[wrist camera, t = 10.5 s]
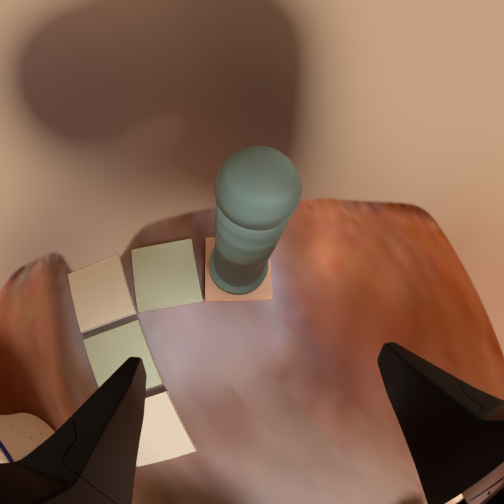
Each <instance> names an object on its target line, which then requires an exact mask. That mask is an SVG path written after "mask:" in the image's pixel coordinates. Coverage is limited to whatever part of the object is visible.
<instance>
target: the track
mask: <svg viewBox="0 0 504 504" xmlns="http://www.w3.org/2000/svg"><path fill="white" fill-rule="evenodd" d="M214 247H215V237H206V256H205V301H251V300H272V299H273V294H272V280H271V267H270V258H269V260H268V264H269V266H268V272H267V275H266V277H265V279H264V281H263V282H262V284H261V285H260V286H259V287H258V288H257V289H256V290H254V291H253V292H251V293H248V294H244V295H233V294H229V293H227V292H225V291H223V290H221V289H220V288H219V287H218V286H217V285H216V284H215V283H214V281H213V280H212V278H211V275H210V270H209V259H210V255H211V252H212V250H213V249H214ZM131 253H132V265H133V276H134V286H135V295H136V303H137V310H138V312H145V311H151V310H157V309H163V308H169V307H174V306H180V305H185V304H191V303H196V302H202V301H203V299H202V294H201V289H200V284H199V279H198V273H197V268H196V262H195V257H194V251H193V245H192V240H191V239H186V240H181V241H175V242H170V243H164V244H159V245H154V246H148V247H143V248H138V249H132V250H131ZM68 278H69V283H70V289H71V293H72V298H73V303H74V307H75V311H76V316H77V320H78V324H79V327H80V331H81V332H83V333H85V332H87V331H90V330H93V329H96V328H98V327H101V326H104V325H106V324H109V323H112V322H114V321H117V320H120V319H123V318H125V317H128V316H131V315H133V314H136V313H137V311H136V308H135V305H134V302H133V299H132V296H131V293H130V289H129V286H128V283H127V279H126V276H125V272H124V268H123V265H122V261H121V257H120V255H119V254H116V255H113V256H111V257H108V258H106V259H104V260H101V261H99V262H96V263H94V264H91V265H89V266H86V267H84V268H82V269H79V270H77V271H75V272H72V273H70V274H68ZM83 342H84V345H85V348H86V352H87V355H88V358H89V361H90V364H91V367H92V370H93V373H94V375H95V378H96V381H97V384H98V386H99V387H100V386H101V385H102V384H103V383H104V382H105V381H106V380H107V379H108V378H109V377H110V376H111V375H112V374H113V373H114V372H115V371H116V370H117V369H118V368H119V367H120V366H121V365H122V364H123V363H124V362H125V361H126V360H127V359H128V358H129V357H140V358H141V359H142V361H143V364H144V368H145V371H146V376H147V379H146V389H148V388H151V387H154V386H157V385H160V384H163V383H164V382H163V380H162V377H161V375H160V373H159V370H158V368H157V366H156V363H155V361H154V358H153V356H152V353H151V351H150V348H149V345H148V343H147V340H146V337H145V335H144V332H143V329H142V326H141V323H140V321H139V320H136V321H133V322H130V323H128V324H125V325H122V326H119V327H117V328H114V329H111V330H109V331H106V332H103V333H100V334H98V335H95V336H92V337H89V338H86V339H84V340H83ZM196 450H197V448H196V447H195V445H194V443H193V441H192V439H191V438H190V436H189V434H188V432H187V430H186V428H185V426H184V424H183V422H182V420H181V418H180V416H179V414H178V412H177V410H176V408H175V406H174V404H173V402H172V400H171V397H170V395H169V393H168V391H165V392H163V393H160V394H157V395H154V396H150V397H147V398H145V408H144V418H143V424H142V430H141V436H140V442H139V448H138V455H137V462H136V466H137V467H139V466H143V465H148V464H152V463H156V462H160V461H164V460H168V459H171V458H175V457H178V456H182V455H185V454H188V453H192V452H195V451H196Z"/></svg>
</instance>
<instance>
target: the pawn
mask: <svg viewBox="0 0 504 504" xmlns="http://www.w3.org/2000/svg"><path fill="white" fill-rule="evenodd" d="M301 191H302V188H301V179H300V176H299V173H298V171H297V169H296V167H295V166H294V164H293V163H292V161H291V160H290V159H289V158H288V157H287V156H285V155H284V154H282V153H281V152H280V151H278V150H275V149H273V148H270V147H265V146H251V147H247V148H243V149H241V150H239V151H237V152H236V153H234V154H232V155H231V156H230V157H229V158H228V159H226V161H225V162H224V163H223V164H222V166H221V168H220V169H219V172H218V174H217V177H216V182H215V196H216V220H215V247H214V249H213V250H212V252H211V255H210V259H209V270H210V275H211V278H212V280H213V281H214V283H215V284H216V285H217V286H218V287H219V288H220V289H221V290H223V291H225V292H227V293H229V294H233V295H244V294H248V293H251V292H253V291H254V290H256V289H257V288H258V287H259V286H260V285H261V284H262V282H263V281H264V279H265V277H266V275H267V272H268V266H269V264H268V260H269V258H270V256H271V254H272V252H273V250H274V248H275V246H276V244H277V242H278V240H279V238H280V236H281V234H282V232H283V230H284V228H285V226H286V224H287V222H288V220H289V218H290V217H291V216H292V215H293V214H294V212H295V211H296V209H297V207H298V204H299V202H300V198H301Z"/></svg>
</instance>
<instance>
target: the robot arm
mask: <svg viewBox="0 0 504 504" xmlns="http://www.w3.org/2000/svg"><path fill="white" fill-rule="evenodd" d="M377 362H378V366H379V369H380V372H381V376H382V379H383V382H384V385H385V389H386V392H387V394H388V397H389V400H390V402H391V404H392V407H393V409H394V411H395V414H396V416H397V419H398V421H399V424H400V426H401V429H402V431H403V434H404V437H405V439H406V442H407V444H408V447H409V450H410V452H411V455H412V458H413V461H414V463H415V466H416V469H417V472H418V475H419V478H420V481H421V484H422V487H423V490H424V493H425V497H426V500H427V503H428V504H445V503H446V502H448V501H450V500H451V499H453V498H455V497H456V496H458V495H459V494H461V493H462V495H463V497H464V498H463V499H462V500H461V501H459V502H458V503H456V504H504V400H501V399H499V398H497V397H494V396H492V395H490V394H488V393H485V392H483V391H481V390H479V389H477V388H475V387H473V386H471V385H469V384H467V383H465V382H464V381H462V380H459V379H458V378H456V377H455V376H453V375H451V374H449V373H447V372H446V371H444V370H442V369H440V368H439V367H437V366H435V365H433V364H432V363H430V362H428V361H426V360H425V359H423V358H421V357H419V356H417V355H416V354H414V353H412V352H410V351H409V350H407V349H405V348H403V347H402V346H400V345H398V344H396V343H395V342H390V343H385V344H384V345H383V347H382V349H381V352H380V354H379V356H378V360H377ZM146 379H147V376H146V371H145V368H144V364H143V361H142V359H141V358H140V357H129V358H128V359H127V360H126V361H125V362H124V363H123V364H122V365H121V366H120V367H119V368H118V369H117V370H116V371H115V372H114V373H113V374H112V375H111V376H110V377H109V378H108V379H107V380H106V381H105V382H104V383H103V384H102V385H101V386H100V387H99V388H98V389H97V390H96V391H95V392H94V393H93V394H92V395H91V396H90V397H89V399H88V400H87V401H86V402H85V403H84V404H83V405H82V406H81V407H80V408H79V409H78V410H77V411H76V412H75V413H74V414H73V415H72V417H70V418H69V419H68V420H67V421H66V422H65V423H64V424H63V425H62V426H61V427H60V428H59V429H58V430H57V431H56V432H55V433H53V434H52V435H51V436H50V437H49V438H48V439H46V440H45V441H44V442H43V443H42V444H40V445H39V446H38V447H37V448H35V449H34V450H33V451H32V452H30V453H29V454H28V455H26V456H25V457H24V458H22V459H20V460H18V461H15V462H10V463H0V504H131V503H132V493H133V484H134V476H135V469H136V462H137V455H138V448H139V442H140V436H141V430H142V424H143V418H144V408H145V392H146Z"/></svg>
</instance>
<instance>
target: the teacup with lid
mask: <svg viewBox="0 0 504 504" xmlns="http://www.w3.org/2000/svg"><path fill="white" fill-rule="evenodd" d="M53 433H55V431H54V430H53V429H52V428H51V427H50V426H49V425H48V424H47V423H45V422H44V421H43V420H41V419H40V418H38V417H36V416H34V415H32V414H29V413H16V414H8V415H0V463H10V462H15V461H18V460H20V459H22V458H24V457H25V456H26V455H28V454H29V453H30V452H32V451H33V450H34V449H35V448H37V447H38V446H39V445H40V444H42V443H43V442H44V441H45V440H46V439H48V438H49V437H50V436H51V435H52V434H53Z"/></svg>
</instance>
